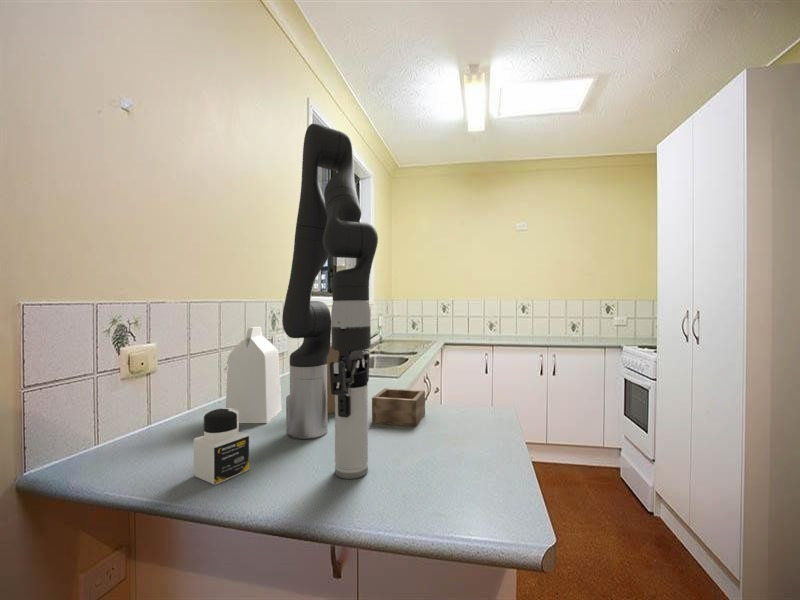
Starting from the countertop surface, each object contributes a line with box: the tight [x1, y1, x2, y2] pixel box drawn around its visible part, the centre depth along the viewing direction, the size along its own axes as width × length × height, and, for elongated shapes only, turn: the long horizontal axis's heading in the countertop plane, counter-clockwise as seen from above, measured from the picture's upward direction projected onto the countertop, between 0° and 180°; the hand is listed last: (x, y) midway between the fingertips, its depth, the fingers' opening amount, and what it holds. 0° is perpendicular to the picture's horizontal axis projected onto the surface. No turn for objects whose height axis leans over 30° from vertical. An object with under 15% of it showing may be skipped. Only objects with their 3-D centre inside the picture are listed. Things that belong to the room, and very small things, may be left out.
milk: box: [225, 326, 283, 424], centre depth 105 cm, size 12×12×26 cm
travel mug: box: [334, 367, 369, 480], centre depth 70 cm, size 6×7×20 cm
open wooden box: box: [371, 388, 426, 427], centre depth 103 cm, size 12×11×7 cm
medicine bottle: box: [193, 407, 250, 486], centre depth 70 cm, size 7×7×12 cm
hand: (351, 410), depth 70 cm, fingers closed on travel mug, 6 cm apart
